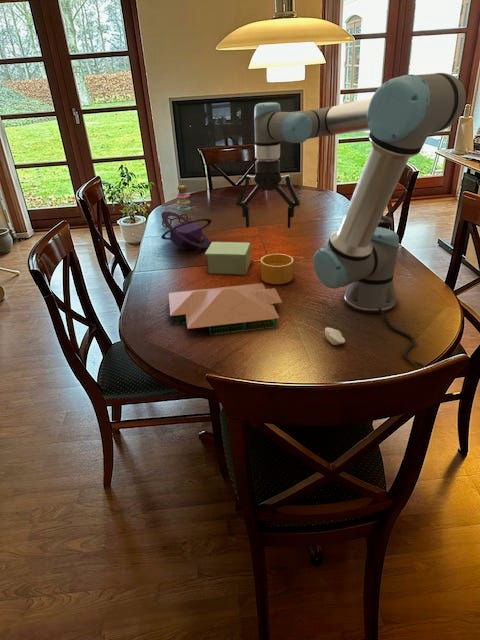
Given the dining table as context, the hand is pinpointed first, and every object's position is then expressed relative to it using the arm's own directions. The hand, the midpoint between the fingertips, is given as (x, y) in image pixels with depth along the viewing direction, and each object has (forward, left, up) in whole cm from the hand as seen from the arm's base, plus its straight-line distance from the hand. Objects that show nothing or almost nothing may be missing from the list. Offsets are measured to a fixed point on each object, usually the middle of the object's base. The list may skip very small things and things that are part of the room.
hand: (268, 226), depth 146 cm
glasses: (+47, +45, -18) cm, 68 cm away
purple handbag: (+25, +36, -18) cm, 48 cm away
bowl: (-1, -3, -18) cm, 19 cm away
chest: (+7, +15, -18) cm, 25 cm away
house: (-27, +10, -18) cm, 34 cm away
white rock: (-39, -22, -19) cm, 48 cm away
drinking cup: (+24, -39, -18) cm, 49 cm away
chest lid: (+7, +15, -11) cm, 20 cm away
